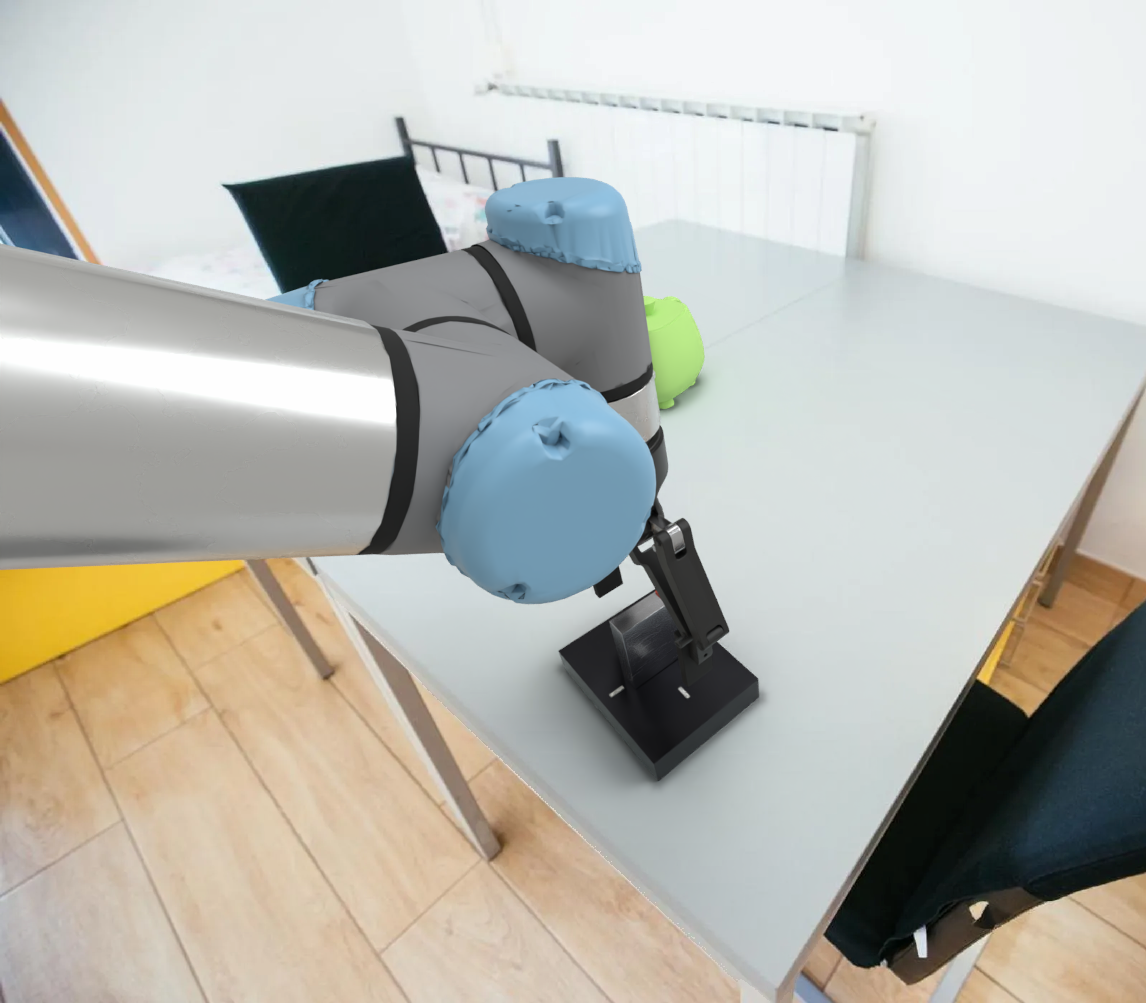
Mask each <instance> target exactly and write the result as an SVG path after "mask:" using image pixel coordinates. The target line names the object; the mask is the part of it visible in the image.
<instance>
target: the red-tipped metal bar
mask: <svg viewBox="0 0 1146 1003" xmlns="http://www.w3.org/2000/svg"><path fill="white" fill-rule="evenodd" d="M609 623H610V627H611V630H612V634H613V638H614V642H615V645H616V649H617V653H618V657H619V660H620V664H621V668H622V672H623V675H624V677H625V678H626V679H627V680H628V681H629V682H630V684H631V685H632V686H633V687H634V688H635V689H637V688H638V687H639V686H641V685H642V684H643V683H645V682H646V681H648V680H649V679H650V678H652V677H653V676H654V675H656V674H657V673H659V672H660V671H661V670H663V669H664V668H665V667H667V666H668V665H670V664H671V663H672V662H674V661H675V660H676V659H678V654H677V649H676V644H675V643H674V641H675V638H674V632H675V631H677V630H678V628H677V627H676V625H675V623H674V621H673V619H672V618H671V616H670V614H669V612H668V611H667V609H666V607H665V605H664V603H663V602H662V600H661V598H660V596H659V595H658V593H657V591H655V592H654V593H652V594H651V595H649V596H647V597H646V598H644V599H643V600H641V601H640V602H638V603H637V604H635V605H633V606H632V607H630V608H629V609H627V610H626V611H624V612H623V613H621V614H619V615H618V616H616V617H615V618H613V619H612V620H610V621H609Z"/></svg>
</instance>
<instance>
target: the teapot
mask: <svg viewBox="0 0 1146 1003" xmlns="http://www.w3.org/2000/svg"><path fill="white" fill-rule="evenodd" d="M643 298H644V305H645V312H646V319H647V326H648V333H649V341H650V348H651V355H652V364H653V370H654V371H655V376H656V377H655V379H654V380H655V386H656V393H657V399H658V405H659V410H660V409H661V410H667V409H670V408H673V407H674V405H675V400H674V398H676V397H678V396H679V395H681V394H682V393H683V392H685V391H686V390H688V389H689V388H690V387H692V386H694V385H695V384H696V380H697V379H698V376H699V374H700V372H701V370H702V368H703V365H704V363H705V358H706V356H705V347H704V343H703V339H702V336H701V333H700V330H699V328H698V325H697V323H696V320H695V319H694V318H695V317H693V314H692V313H691V311H690V309H689V307H688V306H687V304H685V303H684V302H682V301H681V299H680V298H678V297H676V296H672V295H667V296H665V297H663V298H656V297H654V296H651V295H643Z"/></svg>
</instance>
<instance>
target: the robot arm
mask: <svg viewBox="0 0 1146 1003" xmlns="http://www.w3.org/2000/svg"><path fill="white" fill-rule="evenodd" d="M484 214H485V218H486V223H487V224H486V228H485V230H486V234H487V237H488V239H487V240H485V241H480V242H477V243H474V244H472V245H470V246H468V247H465V248H460V249H457V250H453V251H449V252H445V253H442V254H436V255H432V256H427V257H424V258H420V259H417V260H416V259H415V260H411V261H406V262H403V263H399V264H394V265H390V266H386V267H385V266H384V267H382V268H377V269H372V270H369V271H364V272H361V273H357V274H352V275H347V276H343V277H340V278H335V279H331V280H329V279H323V278H321V279H314V280H313V281H311V282H309V283H308V284H307V285H306V286H303V287H299V288H297V289H294V290H291V291H287V292H285V293H281V294H278V295H275V296H271V297H269V298H266V299H263V298H258V297H254V296H250V295H249V296H248V295H245V294H239V293H236V292H235V293H234V292H231V291H226V290H221V289H217V288H211V287H207V286H203V285H197V284H193V283H187V282H184V281H178V280H174V279H168V278H164V277H159V276H154V275H150V274H145V273H141V272H137V271H131V270H128V269H122V268H117V267H113V266H108V265H103V264H99V263H94V262H89V261H84V260H81V259H76V258H70V257H65V256H61V255H57V254H52V253H46V252H43V251H38V250H32V249H28V248H24V247H23V248H22V247H20V246H14V245H11V244H10V245H9V244H5V243H0V571H7V570H8V571H9V570H31V569H32V570H33V569H34V570H35V569H56V568H79V567H81V568H82V567H103V566H104V567H105V566H126V565H127V566H129V565H153V564H156V565H157V564H177V563H179V564H180V563H200V562H203V563H204V562H223V561H226V562H227V561H248V560H251V561H252V560H271V559H272V560H273V559H277V560H278V559H300V558H322V557H323V558H324V557H343V556H344V557H346V556H347V557H348V556H370V555H375V556H376V555H378V556H403V555H404V556H406V555H425V554H427V555H429V554H444V556H445V559H446V560H447V562H448V563H449V565H450V566H453V567H456V569H457V570H458V572H459V573H460V574H461V575H463V576H464V577H467V578H468V579H469V580H471V581H472V582H473V583H474V584H475V585H476V586H477V587H478V588H481V590H484V591H485V592H487V593H489V594H491V595H493V596H494V597H498V598H501V599H503V600H507V601H513V602H514V604H520V605H521V604H522V605H542V604H543V605H544V604H549V603H554V602H558V601H562V600H565V599H568V598H570V597H573V596H575V595H577V594H579V593H582V592H584V591H586V590H588V589H590V588H592V587H593V591H594V595H596V596H597V598H598V599H601V598H603V597H605V596H606V595H608V594H609V593H611V592H613V591H614V590H615V589H618V588H619V587H621V586H622V585H623V584H624V581H623V577H622V576H623V575H622V573H621V569H620V565H621V564H622V563H623V562H624V561H625V560H626V559H627V557H629V558H630V560H631V561H632V563H633V564H634V566H641V567H642V568H643V570H644V571H645V573H646V575H647V577H648V578H649V580H650V582H651V584H652V586H653V587H654V589H656V591H657V593H658V595H659V596H660V598H661V600H662V602H663V603H664V605H665V607H666V609H667V611H668V612H669V614H670V616H671V618H672V619H673V621H674V623H675V625H676V627H677V628H678V630H677V631H675V632H674V638H675V641H674V643H675V644H676V649H677V654H678V660H679V665H680V671H681V676H682V682H683V683H684V684H685V685H686V686H687V687H689V686H691V685H692V684H693V683H695V682H696V681H697V680H698V679H700V678H701V677H702V676H704V675H705V674H706V673H707V672H709V671H710V670H711V669H713V665H712V656H711V655H712V653H713V651H712V645H713V644H714V643H716V642H718V641H720V640H721V639H722V638H724V637H725V636H726V635H728V634H729V633H730V628H729V625H728V623H727V620H726V618H725V616H724V613H723V611H722V608H721V606H720V603H719V601H718V599H717V597H716V594H715V592H714V590H713V587H712V584H711V582H710V579H709V577H708V575H707V573H706V570H705V567H704V566H703V563H702V561H701V558H700V556H699V554H698V551H697V549H696V544H695V541H694V536H693V530H692V527H691V525H690V523H689V521H687V519H686V518H684V517H681V518H679V519H678V520H676V521H674V522H672V521H670V520H668V519H667V518H666V516H665V512H664V509H663V506H662V504H661V502H660V500H659V498H658V496H659V492H660V491H661V488H662V486H663V484H664V482H665V480H666V478H667V476H668V473H669V460H668V454H667V447H666V446H667V445H666V440H665V434H664V429H663V426H662V425H661V423H662V421H661V419H662V418H661V412H660V408H659V405H658V399H657V393H656V386H655V380H654V379H655V377H656V376H655V371H654V370H653V364H652V355H651V348H650V341H649V333H648V326H647V319H646V312H645V305H644V298H643V296H644V292H643V285H642V277H641V272H643V270H642V262H641V261H640V259H639V254H638V249H637V245H636V239H635V235H634V229H633V225H632V222H631V219H630V214H629V210H628V206H627V203H626V201H625V198H624V197H623V195H622V194H621V193H620V192H619V191H618V190H617V189H616V188H615V187H614V186H613V185H611V184H609V183H607V182H604V181H601V180H598V179H594V178H588V177H579V176H578V177H577V176H560V177H559V176H558V177H557V176H556V177H547V178H538V179H532V180H525V181H521V182H517V183H514V184H512V185H511V186H510V187H504V188H500V189H498V190H496V191H494V192H492V194H491V195H489V197H488V198H487V200H486V202H485V205H484ZM651 540H652V541H653V544H652V545H651V546H650V547H648V548H647V549H645V550H644V551H641V550H640V548H639V547H640V546H642V545H644V544H645V543H647V542H649V541H651Z"/></svg>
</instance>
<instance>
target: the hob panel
mask: <svg viewBox="0 0 1146 1003" xmlns="http://www.w3.org/2000/svg"><path fill="white" fill-rule="evenodd" d="M655 591H656V589H655V588H654V589H652V590H651V591H649V592H648V593H646V594H645V595H643V596H641V597H640V598H638V599H637V600H636V601H633V602H632V603H630V604H629V605H627V606H626V607H624V608H623V609H621V610H619V611H618V612H616V613H615V614H613V615H612V616H610V617H609V618H607V619H606V620H604V621H602V622H601V623H599V624H598V625H596V626H595V627H593V628H592V629H590V630H588V631H586V632H585V633H584V634H582V635H581V636H579V637H577V638H576V639H574V640H573V641H571V642H570V643H568V644H567V645H564V646H563V647H562V648H560V649H558V651H557V652H558V655H559V657H560V660H561V663H562V666H563V668H564V670H565V671H566V672H567V674H568V675H569V676H570V677H571V679H572V680H573V681H574V682H575V683H576V684H577V685H578V687H579V688H580V689H581V691H582V692H583V693H584V694H585V696H587V698H588V699H589V700H590V701H591V702H592V704H593V705H594V706H595V707H596V708H597V710H598V711H599V712H600V713H601V714H602V716H603V717H604V718H605V719H606V720H607V722H608V723H609V724H610V725H611V726H612V728H613V729H614V730H615V731H616V732H617V734H618V735H619V736H620V737H621V739H622V740H623V741H624V742H625V744H627V746H628V747H629V748H630V749H631V751H632V752H633V753H634V754H635V755H636V757H637V758H638V759H639V760H640V762H641V763H642V764H643V765H644V766H645V767H646V769H647V771H649V772H650V774H651V775H652V776H653V777H654V778H655V779H656V781H657V782H660V781H661V780H662V779H663V778H665V777H666V776H667V775H668V774H669V773H670V772H671V771H673V770H674V769H675V768H676V767H677V766H679V765H680V764H681V763H682V762H683V761H685V760H686V759H687V758H688V757H690V755H691V754H693V753H694V752H695V751H697V750H698V749H699V748H700V747H701V746H703V745H704V744H705V743H706V742H708V740H710V739H711V738H712V737H713V736H715V735H716V734H717V733H718V732H719V731H721V730H722V729H723V728H724V727H725V726H727V724H729V723H730V722H731V721H732V720H733V719H735V718H736V717H737V716H738V715H740V713H742V712H743V711H744V710H746V709H747V708H748V707H749V706H750V705H751V704H752V703H754V702H755V701H756V700H757V699H759V697H760V686H759V684H760V683H759V682H760V681H759V677H757V675H755V674H754V673H753V672H752V671H751V670H749V669H748V668H747V667H746V666H745V665H744V664H743V663H741V661H740V660H738V659H737V658H736V657H735V656H734V655H733V654H732V653H730V651H728V650H727V649H726V648H725V647H724V646H723V645H721V643H719V642H718V641H717V642H716V643H714V644H713V645H712V651H713V653H712V655H711V656H712V665H713V669H711V670H710V671H709V672H707V673H706V674H705V675H704V676H702V677H701V678H700V679H698V680H697V681H696V682H695V683H693V684H692V685H691V686H689V687H687V686H686V685H685V684H684V683H683V682H682V676H681V671H680V665H679V660H678V659H676V660H675V661H674V662H672V663H671V664H670V665H668V666H667V667H665V668H664V669H663V670H661V671H660V672H659V673H657V674H656V675H654V676H653V677H652V678H650V679H649V680H648V681H646V682H645V683H643V684H642V685H641V686H639V687H638V688H637V689H635V688H634V687H633V686H632V685H631V684H630V682H629V681H628V680H627V679H626V678H625V677H624V675H623V672H622V668H621V664H620V660H619V657H618V653H617V649H616V645H615V642H614V638H613V634H612V630H611V627H610V623H609V621H610V620H612V619H613V618H615V617H616V616H618V615H619V614H621V613H623V612H624V611H626V610H627V609H629V608H630V607H632V606H633V605H635V604H637V603H638V602H640V601H641V600H643V599H644V598H646V597H647V596H649V595H651V594H652V593H654V592H655Z"/></svg>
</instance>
